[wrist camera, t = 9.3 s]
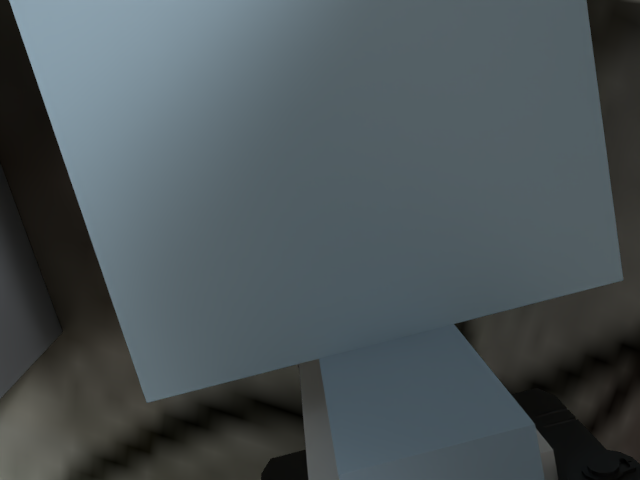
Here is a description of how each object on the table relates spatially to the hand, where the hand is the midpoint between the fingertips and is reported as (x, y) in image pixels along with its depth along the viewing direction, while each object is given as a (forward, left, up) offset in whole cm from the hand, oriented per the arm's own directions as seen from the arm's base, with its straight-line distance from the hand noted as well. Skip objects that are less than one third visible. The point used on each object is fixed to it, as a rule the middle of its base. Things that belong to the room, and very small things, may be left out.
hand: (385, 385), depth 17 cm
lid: (-8, 0, +2) cm, 8 cm away
